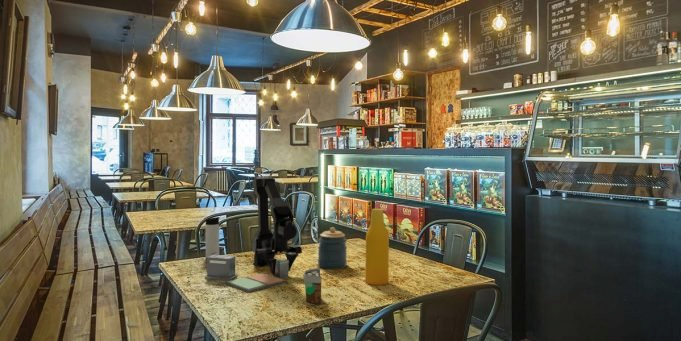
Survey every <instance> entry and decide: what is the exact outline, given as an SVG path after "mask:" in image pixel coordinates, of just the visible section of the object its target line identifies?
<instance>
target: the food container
mask: <svg viewBox="0 0 681 341" xmlns="http://www.w3.org/2000/svg"><path fill="white" fill-rule="evenodd" d="M302 280H303V281H304V287H305V288H304V289H305V290H304V291H305V302H306V303H307V304H309V305H312V306H322V276H321V267H316V268H315V267H314V268H310V269H306V270H305V271H304V273H303V275H302Z"/></svg>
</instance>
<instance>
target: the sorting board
mask: <svg viewBox="0 0 681 341" xmlns="http://www.w3.org/2000/svg"><path fill="white" fill-rule="evenodd" d="M287 283H288V280H286V279H284V278H281V279H280V278H277V277H273V275H269V274H268V273H267V274H266V273H264V272H263V273H257V274H253V275H250V276H244V277H241V278H234V279H232V280H230V281H227V280H225V281H224V285H226V286H230V287H232V288H236V289H238V290H240V291H243V292H246V293H253V292H257V291H261V290H265V289H269V288H273V287H276V286H281V285H284V284H287Z"/></svg>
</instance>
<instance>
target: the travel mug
mask: <svg viewBox="0 0 681 341" xmlns="http://www.w3.org/2000/svg"><path fill="white" fill-rule="evenodd" d="M211 255H220V216H217V217H209V218H206V219H205V259H206V260H207V257H209V256H211Z"/></svg>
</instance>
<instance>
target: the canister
mask: <svg viewBox="0 0 681 341" xmlns="http://www.w3.org/2000/svg"><path fill="white" fill-rule="evenodd" d="M319 236H320V237H319V238H318V240H317V241H318V244H319V245H318V246H317V249H318V253H317V254H318V257H317V258H318V260H317V265H318V268H320V269H321V268H322V269H327V270H339V269H343V268H346V266H347V248H348V247H347V244H346V243H347V241H348V239H347V238H345V237H346V234H345V233H344V232H342V231H339V230H336V228H335V227H334V226H332V227H330V228H329V230H325V231H323V232H322V233H320V234H319Z"/></svg>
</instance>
